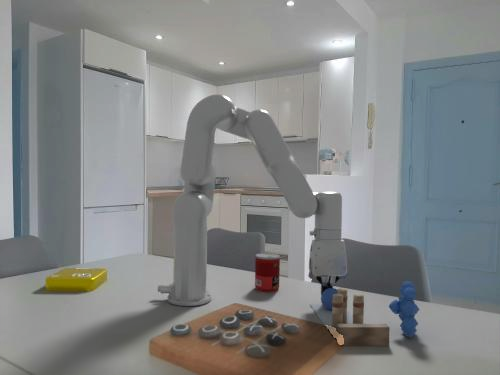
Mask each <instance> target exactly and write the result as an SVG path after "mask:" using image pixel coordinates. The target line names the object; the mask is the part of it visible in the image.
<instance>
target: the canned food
mask: <svg viewBox="0 0 500 375" xmlns="http://www.w3.org/2000/svg"><path fill="white" fill-rule="evenodd" d="M254 264H255V265H254V266H255V267H254V272H255V273H254V288H255V290H257V291H259V292H263V293H273V292H277V291H279V288H280V275H281V274H280V272H281V270H280V266H281V256H280V255H279V254H276V253H268V252H267V253H265V252H264V253H263V252H262V253H256V254H255V262H254Z"/></svg>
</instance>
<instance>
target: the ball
mask: <svg viewBox="0 0 500 375" xmlns="http://www.w3.org/2000/svg"><path fill="white" fill-rule="evenodd" d="M333 294H337V288H334V287H333V288H328V289H326V290H325V291H324V292H323V293H322V295H321V294H320V302H321V304H322V305H323V306H324V307H325V308H326V309H328V310H330V311H332V301H333Z"/></svg>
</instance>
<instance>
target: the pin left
mask: <svg viewBox="0 0 500 375" xmlns="http://www.w3.org/2000/svg"><path fill="white" fill-rule="evenodd" d="M337 324H343V295H341V294H333V301H332V327H334V328H337Z"/></svg>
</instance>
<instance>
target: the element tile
mask: <svg viewBox="0 0 500 375" xmlns="http://www.w3.org/2000/svg"><path fill="white" fill-rule="evenodd" d="M107 281H108V270H107V268H90V267H84V268H83V267H64V268H62V269H61V270H59V271H57V272H55V273H53V274H51V275H49V276H47V277H45V288H44V289H45V290H44V291H46V292H74V293H75V292H76V293H77V292H81V293H82V292H83V293H85V292H86V293H87V292H93V291H95V290H97V289H98V288H100V287H101V286H102V285H103V284H105V283H106V282H107Z"/></svg>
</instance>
